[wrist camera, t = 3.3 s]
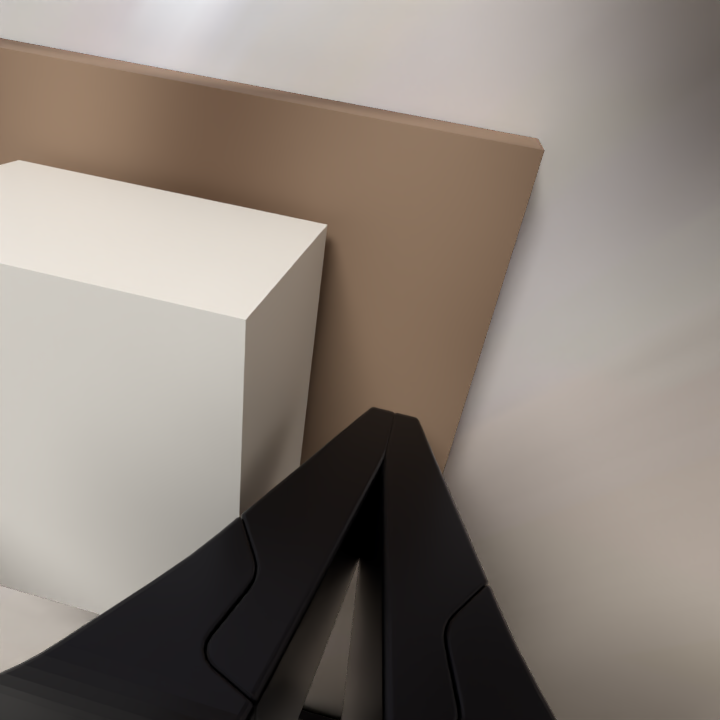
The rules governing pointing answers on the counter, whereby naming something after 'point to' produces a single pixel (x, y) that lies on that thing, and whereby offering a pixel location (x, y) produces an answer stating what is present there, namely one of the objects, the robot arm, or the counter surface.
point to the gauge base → (310, 210)
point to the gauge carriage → (141, 375)
